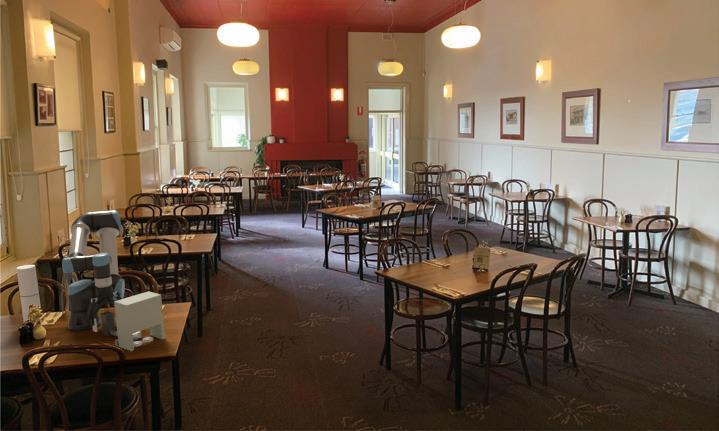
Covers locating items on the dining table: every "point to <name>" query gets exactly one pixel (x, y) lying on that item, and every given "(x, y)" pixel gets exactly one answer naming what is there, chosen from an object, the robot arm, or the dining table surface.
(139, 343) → the coaster
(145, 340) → the coaster
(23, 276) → the container
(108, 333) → the scraper
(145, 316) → the cabinet
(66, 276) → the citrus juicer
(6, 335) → the dining table surface
